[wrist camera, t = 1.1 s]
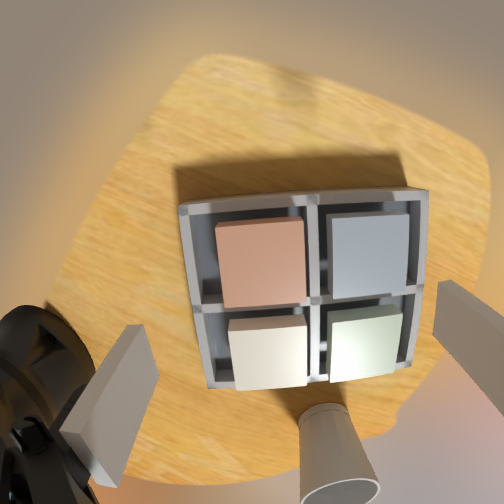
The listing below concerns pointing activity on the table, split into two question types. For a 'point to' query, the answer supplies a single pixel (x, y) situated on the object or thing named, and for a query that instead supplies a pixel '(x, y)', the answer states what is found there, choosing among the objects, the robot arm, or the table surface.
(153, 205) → the table surface
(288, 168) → the table surface
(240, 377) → the key cream
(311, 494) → the cup
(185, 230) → the keypad base
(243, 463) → the table surface
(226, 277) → the key terracotta
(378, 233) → the key slate
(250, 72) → the table surface
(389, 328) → the key sage
